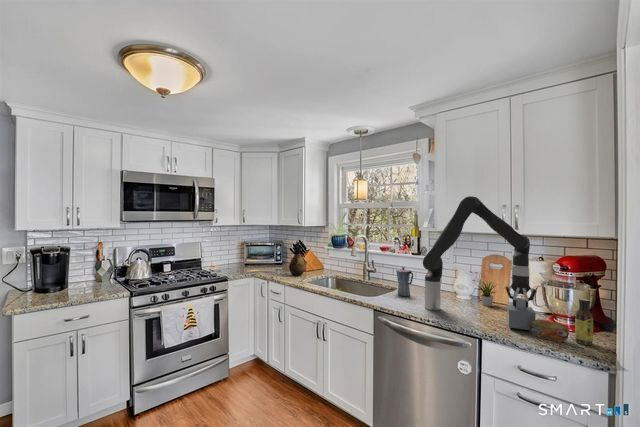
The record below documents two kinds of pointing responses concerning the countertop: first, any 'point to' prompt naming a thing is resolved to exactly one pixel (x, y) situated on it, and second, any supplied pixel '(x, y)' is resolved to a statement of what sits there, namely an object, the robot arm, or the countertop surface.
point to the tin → (549, 330)
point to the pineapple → (297, 262)
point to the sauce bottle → (584, 323)
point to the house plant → (487, 294)
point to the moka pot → (404, 282)
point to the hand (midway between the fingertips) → (520, 307)
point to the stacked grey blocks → (520, 315)
